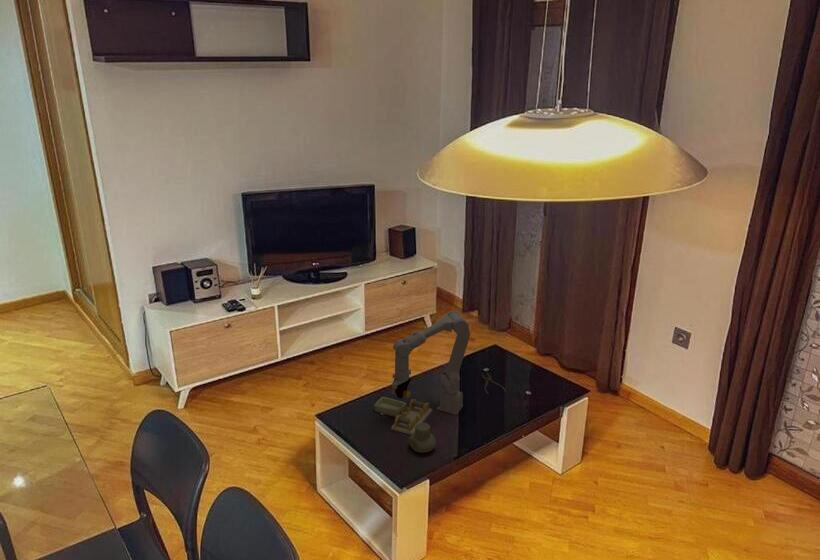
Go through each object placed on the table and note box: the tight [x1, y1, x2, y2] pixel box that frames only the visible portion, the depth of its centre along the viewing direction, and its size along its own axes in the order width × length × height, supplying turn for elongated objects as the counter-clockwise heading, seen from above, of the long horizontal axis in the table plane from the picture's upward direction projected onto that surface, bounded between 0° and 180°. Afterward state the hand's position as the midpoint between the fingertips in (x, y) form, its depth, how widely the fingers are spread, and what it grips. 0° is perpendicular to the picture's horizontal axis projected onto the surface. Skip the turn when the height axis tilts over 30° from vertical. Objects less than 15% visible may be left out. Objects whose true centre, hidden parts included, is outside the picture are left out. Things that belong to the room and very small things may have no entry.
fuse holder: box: [391, 398, 433, 436], centre depth 262 cm, size 10×20×4 cm, turn 154°
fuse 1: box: [394, 415, 415, 427], centre depth 255 cm, size 8×3×3 cm, turn 64°
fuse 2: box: [409, 398, 429, 410], centre depth 267 cm, size 8×3×3 cm, turn 64°
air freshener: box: [408, 422, 437, 454], centre depth 242 cm, size 11×8×10 cm
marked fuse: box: [391, 388, 412, 399], centre depth 262 cm, size 8×3×3 cm, turn 65°
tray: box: [373, 395, 408, 418], centre depth 269 cm, size 12×8×3 cm, turn 64°
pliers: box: [480, 372, 507, 395], centre depth 292 cm, size 10×1×20 cm
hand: (401, 395), depth 263 cm, fingers closed on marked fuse, 2 cm apart
